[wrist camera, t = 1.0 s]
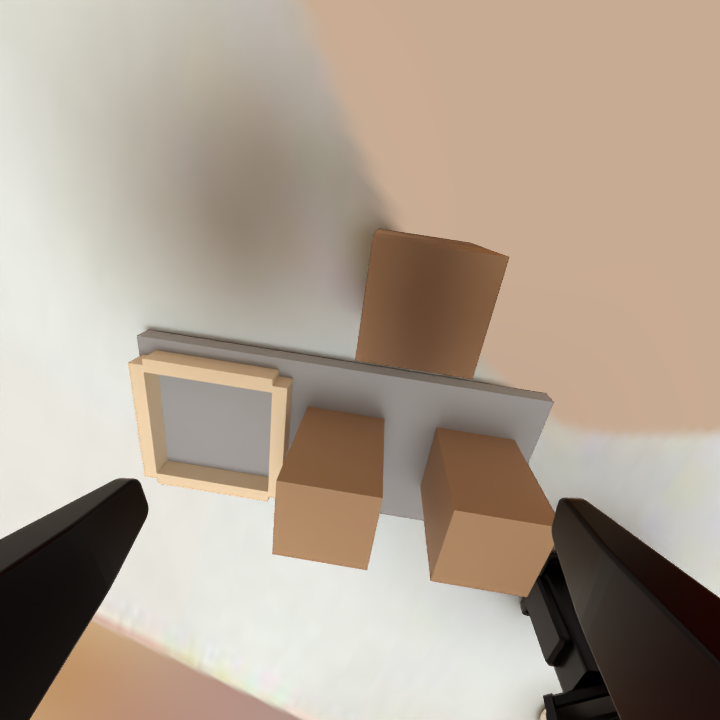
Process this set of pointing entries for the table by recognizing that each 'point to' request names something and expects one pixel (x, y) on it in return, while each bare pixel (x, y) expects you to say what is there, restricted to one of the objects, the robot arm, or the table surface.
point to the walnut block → (428, 303)
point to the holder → (351, 453)
